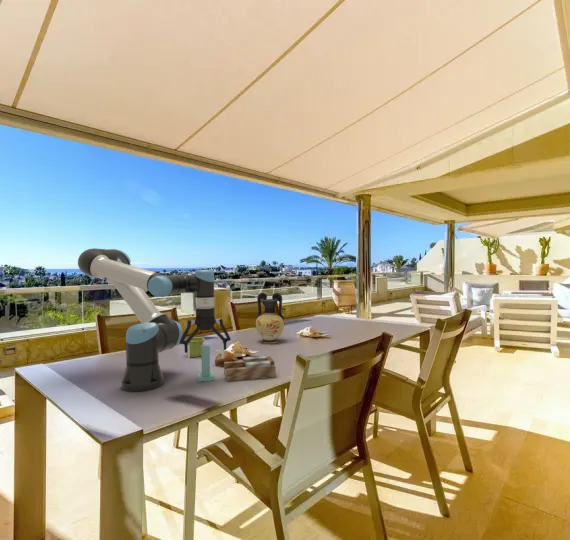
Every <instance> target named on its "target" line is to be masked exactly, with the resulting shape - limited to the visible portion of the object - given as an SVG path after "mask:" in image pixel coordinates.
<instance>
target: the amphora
mask: <svg viewBox="0 0 570 540" xmlns="http://www.w3.org/2000/svg"><path fill="white" fill-rule="evenodd" d="M271 297H272V298H268V295H267V294H266V293H265V292H260V293H258V295H257V298H256V299H257V301H256V302H257V307H258V308H257V310H258V311H257V316H255V319H256V320H255V327H256V328H255V329H256V331H257V334H258V335H259V337H261V339H262V343H264V344H276V343H278V338H279V337H280V336H282V334H283V331H284V327H285V322H284V321H285V320H284V319H285V316H284V315H283V313H282V312H283V311H282V309H283V296H282V294H281V293H279V292H274V293H273V294H272V296H271ZM261 302H262V303H261ZM277 304H278V313H276V309H275V308H276V305H277ZM261 305H263V306H264V312H263V313H262V306H261Z"/></svg>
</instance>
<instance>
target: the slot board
mask: <svg viewBox="0 0 570 540" xmlns="http://www.w3.org/2000/svg"><path fill="white" fill-rule="evenodd" d="M223 369H224V376H225V380H226V382H227V381H228V382H235V381H234V380H239V381H244V380H243V379H250V380H254V379H253V378H261V379H264V378H263V377H272V378H276V365H275V361H274V359H273V358H272V357H271V356H266V355H256V356H243V357H242V360H236V361H233V362H224V367H223Z"/></svg>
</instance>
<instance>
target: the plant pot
mask: <svg viewBox="0 0 570 540" xmlns="http://www.w3.org/2000/svg"><path fill="white" fill-rule="evenodd" d="M186 340H187V338H185V341H186ZM204 341H205V338H204V337H200V336H199V337H198V336H194V337H193V338H192V339H191V341H190V342H189V343H188V344H190V358H197V357H202V346H201V345H204Z"/></svg>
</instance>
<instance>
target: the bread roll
mask: <svg viewBox="0 0 570 540" xmlns="http://www.w3.org/2000/svg"><path fill="white" fill-rule="evenodd" d="M233 361H238V358H237V356H236V355H235V354H234V353H232V352H230V351H228V350H224V359H222V356H221V352H220V353H218V354H217V356H216V357H215V358H214V364H215V366H216V367H218V366H220V368H224V362H233Z"/></svg>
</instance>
